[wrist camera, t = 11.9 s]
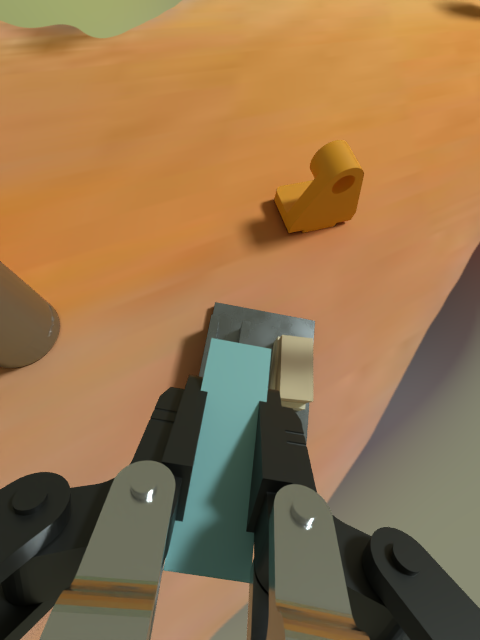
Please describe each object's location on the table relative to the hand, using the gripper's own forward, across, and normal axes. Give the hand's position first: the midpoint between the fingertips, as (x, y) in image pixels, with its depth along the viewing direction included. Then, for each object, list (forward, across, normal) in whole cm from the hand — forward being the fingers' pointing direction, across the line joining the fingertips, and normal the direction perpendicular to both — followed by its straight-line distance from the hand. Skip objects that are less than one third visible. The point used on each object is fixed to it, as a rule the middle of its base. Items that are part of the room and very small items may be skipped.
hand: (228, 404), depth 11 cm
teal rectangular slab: (+7, 0, +13) cm, 15 cm away
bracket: (+45, -10, -5) cm, 46 cm away
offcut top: (+22, -8, +12) cm, 26 cm away
